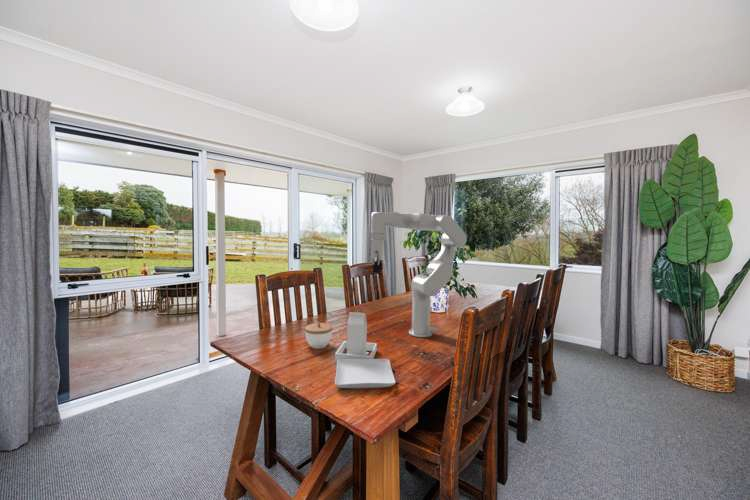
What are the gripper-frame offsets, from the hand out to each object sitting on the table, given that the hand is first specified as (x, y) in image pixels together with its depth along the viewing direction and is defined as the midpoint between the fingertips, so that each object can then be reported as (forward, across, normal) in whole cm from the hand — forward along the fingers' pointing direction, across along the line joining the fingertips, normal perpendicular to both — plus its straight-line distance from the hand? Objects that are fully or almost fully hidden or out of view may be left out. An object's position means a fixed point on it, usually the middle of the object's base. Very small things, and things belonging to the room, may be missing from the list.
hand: (377, 271), depth 161 cm
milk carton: (+34, +24, -5) cm, 42 cm away
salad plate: (+35, +43, +2) cm, 55 cm away
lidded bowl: (+34, +16, -25) cm, 46 cm away
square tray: (+34, +24, -5) cm, 42 cm away
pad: (+34, +24, -5) cm, 42 cm away
